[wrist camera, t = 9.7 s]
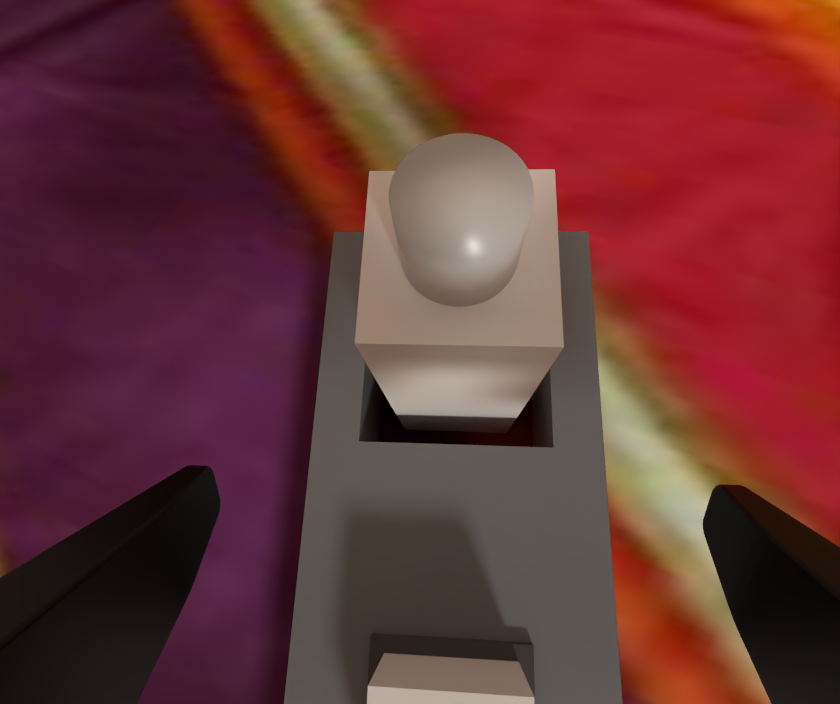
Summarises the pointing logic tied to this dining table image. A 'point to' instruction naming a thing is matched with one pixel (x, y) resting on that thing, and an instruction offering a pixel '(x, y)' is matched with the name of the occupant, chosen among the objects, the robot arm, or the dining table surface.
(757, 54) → the dining table surface
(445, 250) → the plug
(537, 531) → the grey boxy piece
